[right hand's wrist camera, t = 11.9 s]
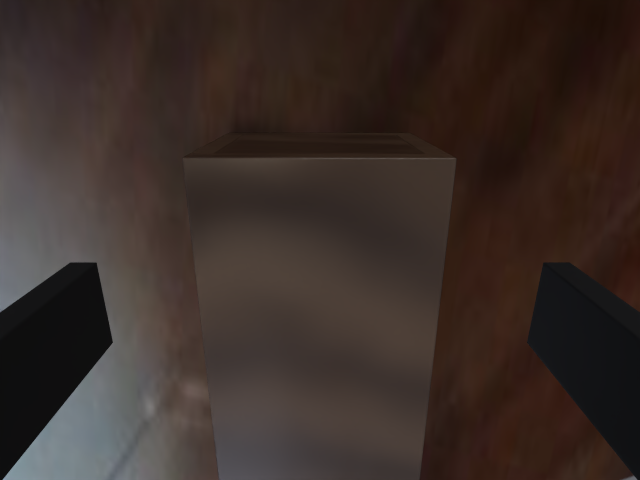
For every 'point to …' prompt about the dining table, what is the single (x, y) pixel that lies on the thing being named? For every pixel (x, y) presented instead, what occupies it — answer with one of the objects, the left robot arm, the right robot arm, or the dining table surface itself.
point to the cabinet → (319, 299)
